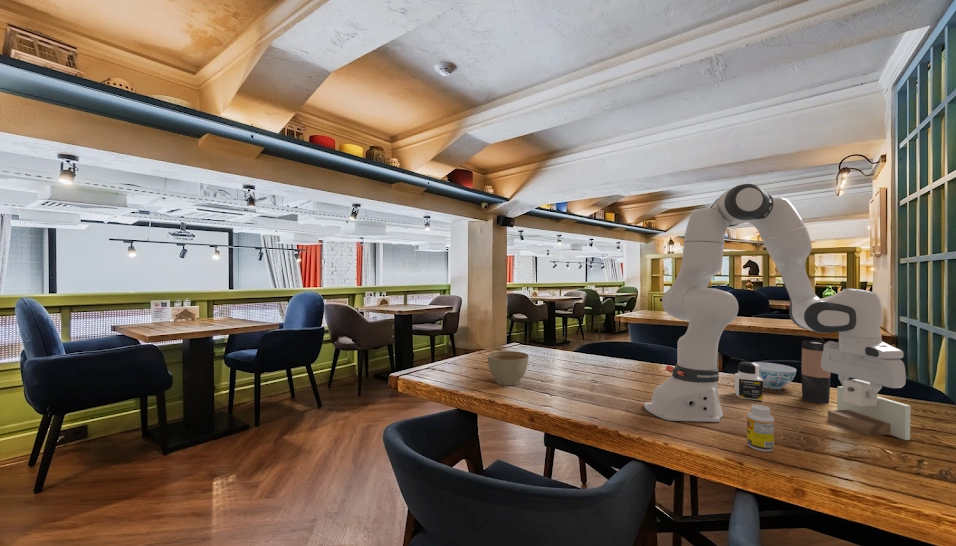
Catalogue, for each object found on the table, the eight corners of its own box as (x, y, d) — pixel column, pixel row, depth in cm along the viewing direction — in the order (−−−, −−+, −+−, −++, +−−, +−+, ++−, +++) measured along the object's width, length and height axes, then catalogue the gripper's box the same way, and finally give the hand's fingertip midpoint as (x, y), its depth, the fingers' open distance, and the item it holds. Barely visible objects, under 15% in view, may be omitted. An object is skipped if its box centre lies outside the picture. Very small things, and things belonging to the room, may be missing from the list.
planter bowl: (489, 376, 169) (489, 350, 168) (528, 378, 166) (528, 351, 166) (484, 387, 153) (484, 358, 152) (528, 389, 150) (528, 360, 150)
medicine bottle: (738, 398, 141) (739, 363, 141) (734, 392, 148) (734, 359, 148) (763, 401, 138) (763, 365, 138) (757, 395, 145) (758, 361, 145)
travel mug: (835, 404, 135) (836, 344, 135) (809, 403, 136) (810, 343, 136) (821, 397, 142) (821, 340, 142) (796, 396, 144) (797, 339, 144)
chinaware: (748, 379, 166) (748, 360, 165) (795, 385, 157) (795, 365, 157) (746, 388, 153) (746, 367, 153) (797, 395, 145) (797, 373, 144)
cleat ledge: (867, 435, 109) (867, 424, 109) (827, 420, 120) (827, 410, 120) (890, 434, 110) (890, 423, 110) (848, 419, 121) (848, 409, 121)
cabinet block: (858, 406, 112) (858, 384, 112) (840, 400, 117) (840, 379, 117) (877, 405, 113) (877, 384, 113) (858, 399, 118) (858, 379, 118)
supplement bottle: (748, 441, 106) (748, 401, 106) (774, 447, 102) (775, 406, 102) (745, 448, 102) (745, 407, 101) (772, 454, 98) (773, 412, 98)
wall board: (905, 440, 107) (905, 405, 107) (837, 415, 125) (837, 386, 125) (910, 439, 107) (910, 405, 107) (841, 415, 125) (841, 386, 125)
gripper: (815, 340, 125) (814, 384, 125) (889, 353, 105) (889, 407, 105) (833, 339, 126) (833, 384, 126) (911, 353, 105) (910, 406, 106)
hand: (859, 394), depth 115 cm, fingers closed on cabinet block, 5 cm apart
